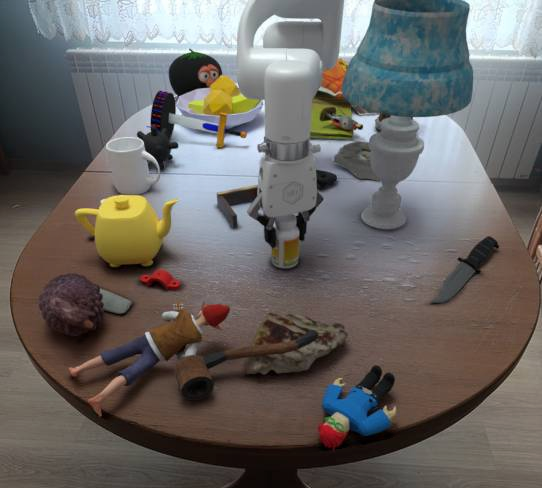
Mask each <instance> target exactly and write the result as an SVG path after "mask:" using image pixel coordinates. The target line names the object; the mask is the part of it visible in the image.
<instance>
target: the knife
mask: <svg viewBox="0 0 542 488" xmlns="http://www.w3.org/2000/svg"><path fill="white" fill-rule="evenodd" d="M499 248H500V245H499V243H498V241H497V240H496V239H495V238H493V236H490V235H488V236H486V237H484V238H483V239H482V240H480V241H479V242H477V244H476V245H475V246H474V247H473V248H472V249H471V251H470V252H469V253H468V256H467V257H466V258H462V257H458V258H457V259H456V260H457V261H458V262H459V263H458V265H457V266H456V267H454V269H453V270H452V271H451V272H450V274H449V275H448V276H447V277H446V278H445V279H444V280H443V284H442V289H441V291H440V293H439V295H438V296H437V297H435V298H434V299H433V300H431V301H429V303H430V304H442V303H446V302H448V301H450V300H451V299H452V298H453V297H455V295H456V294H458V292H459V291H460V290H461V289H462V288H463V287H464V285H465V284H466V283H467V282H468V281H469V280H470V278H471V277H472V275H474V274H475V273H476V274H481V272H482V270H481V269H479V268H478V266H480V265H481V264H482V263H484V262H485V260H486V259H487V258H488V257H489V256H490V255H491V253H493V250H494V249H496V250H498V249H499Z"/></svg>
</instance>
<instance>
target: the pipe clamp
mask: <svg viewBox="0 0 542 488" xmlns="http://www.w3.org/2000/svg"><path fill="white" fill-rule="evenodd" d="M139 279H140V282H141V284H142V285H146V286H147V287H151V285H152V284H153V283H154V282H158V283H160V284H162V286H163V287H164V290H166V291H167V290H168V291H169V290H172V291H176V290H179V289H180V288H181V282H180V281H179V280H178V279H174V277H173V275H172V274H171V273H170V272H168V271H167V270H164V269H156V270H155V271H154V272H153V273H152V274H142V275H141V276H140V278H139Z"/></svg>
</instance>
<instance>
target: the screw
mask: <svg viewBox="0 0 542 488" xmlns="http://www.w3.org/2000/svg"><path fill="white" fill-rule="evenodd" d="M93 238H95V236H94V235H92V234H89V236H88V240H93Z"/></svg>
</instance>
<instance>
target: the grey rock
mask: <svg viewBox="0 0 542 488" xmlns="http://www.w3.org/2000/svg"><path fill="white" fill-rule="evenodd" d="M330 142H331V141H330V140H329V142H328V143H330ZM370 158H371V150H370V148H369V141H363V140H354V141H352V142H349V143H345V144H344V145H342V146H341V147H340V148H339V150H338V152H337V153H336V154H335V155H334V156H333V158H332V159H333V160H332V162H333V163H334V164H336V165H338V166H341V167H343V168H344V169H346V170H348V171H349V172H351V174H353V175H355V177H356V178H358V179H360V180H365V179H367V180H373V181H375V182H381V180H380V179H379V178H377V177H376V176H375V174H374V173H373V171H372V168H371V162H370Z"/></svg>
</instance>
